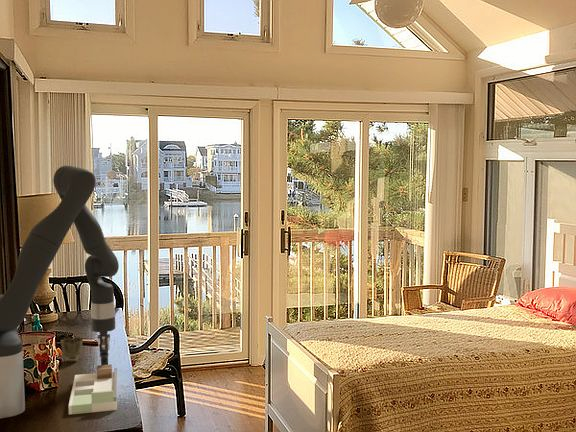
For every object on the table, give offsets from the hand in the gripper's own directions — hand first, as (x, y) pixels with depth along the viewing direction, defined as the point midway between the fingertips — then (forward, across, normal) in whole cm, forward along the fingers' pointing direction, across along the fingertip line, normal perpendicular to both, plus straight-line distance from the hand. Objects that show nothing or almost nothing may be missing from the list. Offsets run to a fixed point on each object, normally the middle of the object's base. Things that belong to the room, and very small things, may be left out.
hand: (104, 367), depth 212 cm
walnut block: (+1, -7, 0) cm, 7 cm away
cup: (+4, +22, +12) cm, 25 cm away
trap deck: (+3, -17, +2) cm, 17 cm away
